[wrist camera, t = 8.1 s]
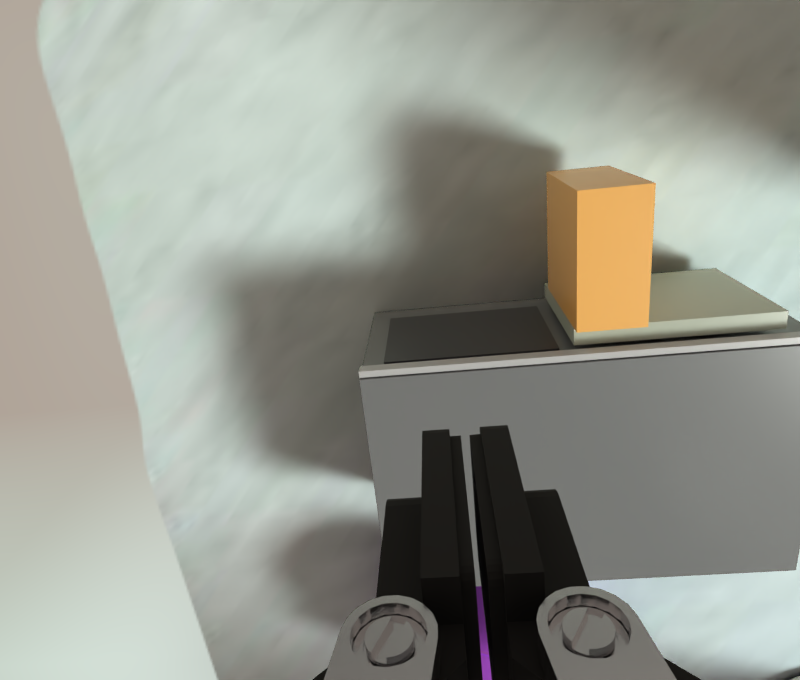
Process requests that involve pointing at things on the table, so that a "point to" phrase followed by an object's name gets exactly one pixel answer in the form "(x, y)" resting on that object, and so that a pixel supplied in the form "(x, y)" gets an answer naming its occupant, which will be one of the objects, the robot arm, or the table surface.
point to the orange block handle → (632, 269)
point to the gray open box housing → (603, 431)
